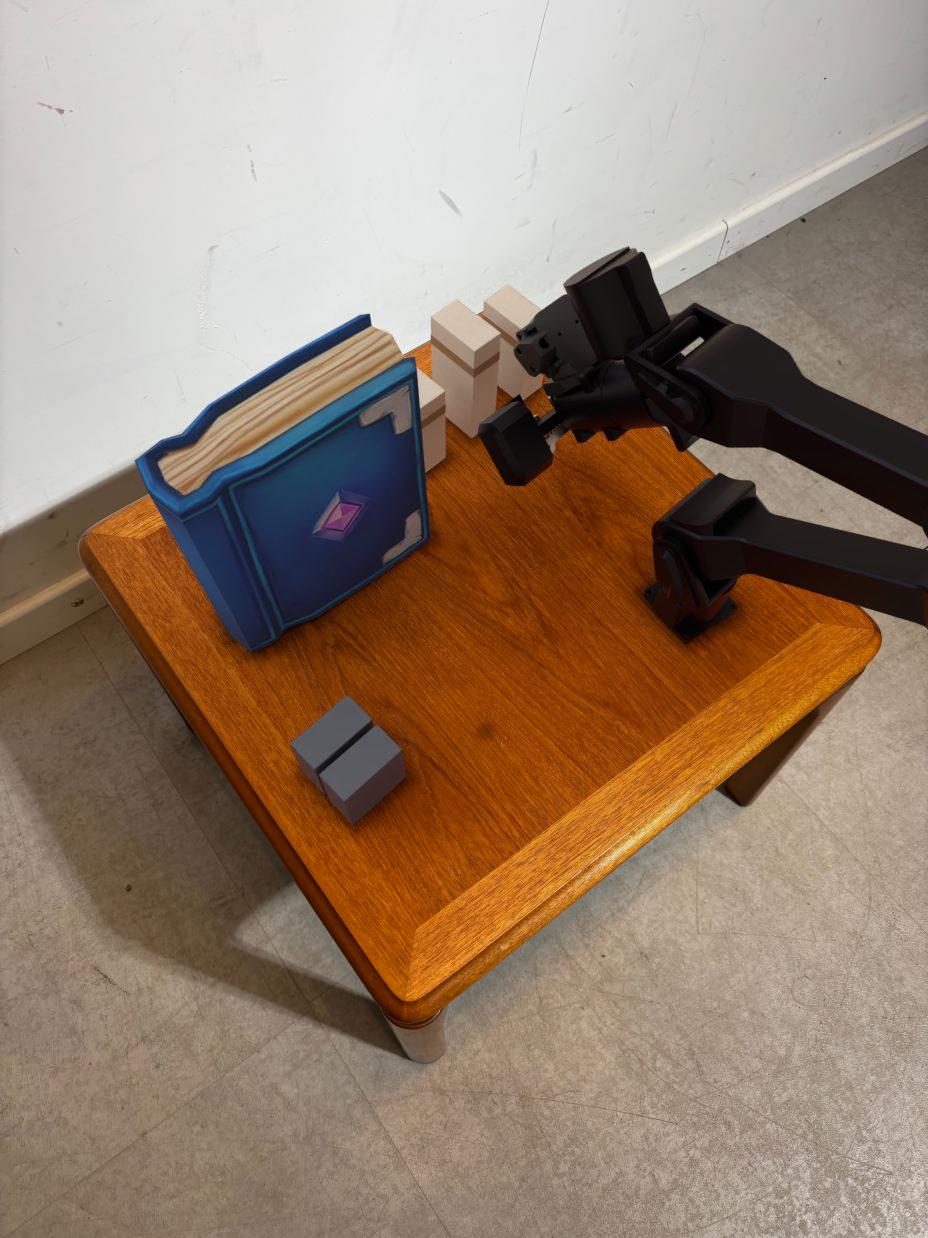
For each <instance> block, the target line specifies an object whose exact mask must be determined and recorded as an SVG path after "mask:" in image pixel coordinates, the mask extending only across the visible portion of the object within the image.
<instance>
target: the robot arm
mask: <svg viewBox="0 0 928 1238" xmlns="http://www.w3.org/2000/svg"><path fill="white" fill-rule="evenodd" d="M562 286H563V288H564V290H565V294H562V295H560V296H559V297H558V298H557V299H555V300H554V301H552V302H551V303H550V304H548V305H546V306H545V307H544V308H541V309H542V310H541V311H540V312H538V313H537V314H536V315H535V316H534V318H533V319H532V320H531V321H530V323H529V324H528V325H526V326H525V327H523V328H522V329H521V330H519V331H518V332H516V338H517V339H518V341H519V343H518V344H517V345H516V346H515V347H514V349H513V351H514V356H515V357H516V359H517V360H518V361H519V363H520V364H521V365H522V366H523V368H524V369H525V370H526V372H527V373H528V374H529V375H530V376H532V377H536V376H538V375H539V374H543V376H545V378H547V381H545V382H544V383H542V389H543V392H544V393H545V395H546V396H547V397H548V401H549V403H550V405H551V407H552V409H550V410H549V411H547V412H546V413H545V414H543V415H542V416H541V417H540V415H539V414H533V413H532V410H531V409H530V408H528V406H527V405H526V404H525V403H526V402H525V401H524V400H523V399H522V397H521V395H520V394H519V395H517V396H516V397H515V398H513V397H512V399H510V400H509V401H508V402H506V403H505V404H503V405H502V406H501V407H500V408H499V409H497V410H495V413H493V414H492V415H491V416H489V417H488V418H487V419H485V420H484V421H482V422H481V423H480V424H479V427H478V434H477V436H478V437H479V439H480V441H481V443H482V444H483V446H484V449H485V450H486V452H487V454H488V455H489V457H490V460H491V461H492V463H493V465H494V466H495V469H496V470H497V473H498V474H499V476H500V478H501V480H502V481H503V483H504V485H505V486H508V487H514V488H515V487H517V488H518V487H521V488H523V487H526V486H527V485H528V484H530V483H531V482H533V481H534V480H535V479H536V478H538V477H539V476H540V475H542V474H543V473H544V472H545V471H547V470H548V469H549V468H550V467H551V466H553V461H554V452H555V450H556V442H557V441H558V440H560V439H562V437H564V436H565V435H566V434H568V433H570V431H571V432H572V434H573V437H574V438H575V441H576V443H577V444H585V443H587V442H588V441H589V440H590V439H592V438H594V436H596V434H598V433H603V434H604V436H605V438H606V440H607V442H616V441H617V440H619V439H621V437H622V436H624V435H625V434H626V433H627V432H629V431H631V430H639V429H651V428H652V429H653V428H663V427H664V428H666V429H667V431H668V432H669V436H670V437H671V440H672V442H673V444H674V447H675V449H676V451H678V452H679V453H685V452H686V451H687V450H689V448H691V446H693V445H694V444H695V443H697V442H698V441H699V440H700V439H702V440H705V441H708V442H710V443H713V444H715V445H718V446H721V447H724V448H727V449H765V450H767V451H771V452H774V453H776V454H778V455H780V456H783V457H784V458H787V459H788V460H790V461H792V462H793V463H797V464H798V465H800V466H802V467H804V468H806V469H808V470H809V471H811V472H813V473H816V474H817V475H819V476H821V477H824V478H825V479H827V480H829V481H831V482H833V483H835V484H837V485H839V486H841V487H843V488H844V489H847V490H848V491H850V492H853V493H854V494H856V495H857V496H860V497H862V498H864V499H866V500H868V501H870V502H872V503H874V504H875V505H878V506H879V507H882V508H884V509H885V510H888V511H889V512H891V513H893V514H894V515H895V514H896V515H897V516H899V517H901V518H903V519H905V520H906V521H908V522H910V523H913V524H915V525H916V526H918V527H920V528H921V529H922V531H923V533H924V535H925V537H926V539H928V434H926V433H924V432H921V431H919V430H917V429H914V428H913V427H910V426H908V425H906V424H904V423H901V422H899V421H897V420H895V419H892V418H890V417H888V416H886V415H885V414H882V413H880V412H877V411H875V410H873V409H871V408H868V407H867V406H864V405H862V404H860V403H858V402H856V401H853V400H851V399H849V398H846V397H845V396H842V395H840V394H838V393H837V392H833V391H832V390H829V389H828V388H825V387H823V386H820V385H819V384H817V383H815V382H814V381H812V380H811V379H809V378H807V377H806V376H804V374H803V372H802V370H801V368H800V367H799V365H798V363H797V362H796V360H795V358H794V357H793V354H792V353H791V352H790V351H788V350H787V349H785V348H784V347H783V346H781V345H779V344H778V343H776V342H774V341H773V340H771V339H770V338H768V337H767V336H765V335H764V334H762V333H761V332H759V331H757V330H756V329H754V328H752V327H750V326H748V325H746V324H745V325H744V324H741V323H736V322H734V321H732V320H730V319H728V318H726V317H724V316H722V315H720V314H718V313H717V312H715V311H713V310H711V309H709V308H707V307H705V306H703V305H701V304H700V303H697V302H696V301H695V302H692V303H691V304H689V305H688V306H687V307H685V308H684V309H683V310H681V311H680V312H677V313H673V314H669V313H668V310H667V308H666V305H665V304H664V303H665V302H664V301H663V299H662V298H663V297H662V296H661V294H660V291H659V289H658V287H657V284H656V282H655V279H654V275H653V271H652V268H651V265H650V263H649V261H648V258H647V256H646V253H645V252H643V251H642V250H641V251H638V250H637V248H635V247H630V246H629V245H627V246H625V247H622V248H619V249H617V250H614V251H612V252H611V253H609V254H607V255H605V256H601V258H599V259H597V260H595V261H593V262H591V263H590V264H588V265H586V266H585V267H583V268H582V269H580V270H578V271H576V273H573V274H572V275H571V276H570V277H568V278H567V279H566V280H565V281H564V282H563V284H562ZM700 338H701V339H702V340H703V341H702V342H701V343H699V344H698V345H697V346H696V347H694V348H693V349H692V350H690V352H688V353H687V354H685V355H684V354H683V353H682V352H683V351H685V350H686V349H687V348H689V346H691V345H692V344H693V343H695V342H696V341H698V339H700ZM756 485H757V484H756V483H755V482H754V481H753V480H751V479H736V478H733V477H730V476H728V475H726V474H724V473H722V472H721V471H719V472H718V473H717V474H715V476H713V477H708V478H705V479H703V480H702V481H701V482H699V484H698V485H696V486H695V487H694V488H693V489H692V490H690V491H689V492H688V493H687V494H686V495H685V496H684V497H683V498H681V499H680V500H679V501H678V502H676V504H674V505H673V506H671V508H669V509H668V510H667V511H666V512H665V513H663V515H661V516H660V517H659V518H658V519H656V521H655V522H654V523H653V524H652V526H651V533H650V534H651V539H652V544H651V549H652V560H653V569H654V570H653V571H654V579H655V581H656V582H654V583H652V584H651V585H649V586H647V587H646V588H645V589H644V590H643V593H642V596H643V597H644V598H645V600H646V601H647V602H648V603H649V605H651V607H652V610H653V611H654V613H656V615H657V616H658V617H659V619H660V620H661V621H662V622H663V623H664V625H666V627H668V628H669V629H671V630H672V631H673V632H674V633H675V634H676V635H677V637H678V638H679V639H680V640H681V641H682V642H683V643H685V644H689V643H691V642H693V641H694V640H697V638H699V637H701V636H702V635H703V634H705V633H707V632H708V631H710V630H711V629H713V628H714V627H716V626H717V625H719V624H721V623H722V622H724V621H725V620H727V619H728V618H729V617H731V616H733V615H734V614H736V613H737V612H738V609H739V605H738V604H737V603H736V602H735V601H734V599H732V597H731V596H730V595H731V593H732V591H733V590H734V588H735V586H736V584H737V582H738V580H739V579H740V578H741V577H742V576H745V575H753V576H757V577H761V578H764V579H767V580H770V581H774V582H778V583H781V584H784V585H787V586H790V587H794V588H798V589H801V590H804V591H808V592H810V593H814V594H817V595H821V596H823V597H827V598H831V599H833V600H836V601H837V600H838V601H840V602H844V603H847V604H850V605H853V606H858V607H861V608H865V609H867V610H871V611H873V612H877V613H881V614H884V615H887V616H889V617H890V616H891V617H894V618H896V619H900V620H903V621H907V622H909V623H910V622H911V623H913V624H917V625H920V626H922V627H923V628H925V629H926V630H928V549H925V548H921V547H917V546H912V545H908V544H903V543H899V542H895V541H890V540H887V539H882V538H878V537H873V536H869V535H865V534H860V533H856V532H854V531H853V532H851V531H848V530H843V529H839V528H835V527H832V526H831V527H830V526H827V525H823V524H818V523H814V522H809V521H805V520H802V519H801V520H800V519H798V518H797V519H796V518H792V517H788V516H784V515H781V514H780V515H779V514H775V513H773V512H771V511H770V510H769V508H767V506H766V504H764V502H763V501H762V500H761V498H760V497H759V496H758V495H757V486H756ZM648 593H649V594H648ZM731 607H732V608H731ZM687 637H688V638H687Z"/></svg>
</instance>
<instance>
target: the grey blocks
mask: <svg viewBox="0 0 928 1238" xmlns="http://www.w3.org/2000/svg"><path fill="white" fill-rule="evenodd" d="M289 745H290V747H291V749H292V751H293V753H294V755H295V758H296V760H297V762H298V764H299V767H300V769H301V771H302V772H303V773H304V775H305V776H306V777H307V778H308V779H309V780H310V781H311V783H312V784H314V785H315V786H316V788H317V789H318V790H319V791H320V792H321V793H322V794H323V796H327V797H328V800H329V802H330V803H331V804H332V805H333V806H334V808H336V810H338V811H339V813H340V814H341V815H342V816H343V817H344V818H345V819H346V820H347V821H348V822H349V823H350V825H352V826H354V825H355V824H357V822H359V821H360V820H361V819H362V818H363V817H364V816H365V815H366V814H368V812H370V811H371V810H372V809H373V808H374V807H375V806H376V805H377V804H378V803H380V802H381V801H382V800H383V799H384V798H385V797H386V796H387V795H389V794H390V793H391V791H393V790H394V789H395V788H396V787H397V786H398V785H399V784H401V782H402V781H404V780H405V778H407V775H406V774H407V773H406V768H405V759H404V754H403V748H402V747H400V746H399V745H398V744H397V743H396V742H395V740H394V739H392V738H391V737H390V735H388V733H387V732H386V731H384V729H382V727H381V726H379V724H375V725H374V722H373V718H372V717H371V716H370V715H369V714H368V713H367V712H366V711H365V710H364V709H363V708H362V707H361V706H360V705H359V704H358V703H357V702H356V700H354V699H353V698H352V697H351V696H350V694H346V695H345V696H344V697H343V698H342V699H341V700H340V701H338V702H337V703H336V704H335V705H333V706H332V707H331V708H330V709H329V710H328V711H326V712H325V713H324V714H323V715H321V716H320V718H318V719H317V720H316V721H314V723H312V724H311V725H310V726H309V727H308V728H307V729H305V730H304V731H303V732H302V733H300V734H299V735H298V736H297V737H296V738H295V739H293V740H292V741H291V742H290V743H289Z"/></svg>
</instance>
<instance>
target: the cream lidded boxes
mask: <svg viewBox="0 0 928 1238" xmlns="http://www.w3.org/2000/svg"><path fill="white" fill-rule="evenodd" d="M542 309H543V308H541V307H540V306H538V305H537V304H536V303H534V302H533V301H531V300H530V299H529V298H527V297H526V296H525V295H524V294H522V293H521V292H520V291H518V290H517V289H516V288H514V287H513V286H512V285H510V284H509V283H507V284H505V285H504V286H502V287H501V288H499V289H498V290H497V291H495V292H493V293H492V294H491V295H488V296H487V297H486V298H485V299H483V307H482V319H484V320H485V321H486V322H487V323H489V324H490V325H491V326H493V327H494V328H495V329H496V330H498V331H499V332H500V333H501V337H500V359H499V366H498V381H497V387H499V388H500V389H501V390H502V391H504V392H505V393H506V394H507V395H508V396H510V397H511V398H512V399H513V398H515V397H516V396H517V395H519V394H520V395H521V397H522V399H523V401H524V400H526V399H527V398H529V397H531V395H533V394H534V393H535V392H536V391H538V390H539V389H541V388H543V379H544V374H539V375H538V376H536V377H532V376H530V375H529V374H528V373H527V372H526V370H525V369H524V368H523V366H522V365H521V364H520V363H519V361H518V360H517V359H516V357H515V356H514V351H513V349H514V347H515V346H516V345H517V344H518V343H519V341H518V339H517V338H516V332H518V331H519V330H521V329H522V328H523V327H525V326H526V325H528V324H529V323H530V321H531V320H532V319H533V318H534V316H535V315H536V314H537V313H538V312H540V311H541V310H542ZM404 358H406V356H404ZM417 376H418V388H419V400H420V413H421V425H422V437H423V449H424V462H425V474H426V473H427V472H429V471H430V470H432V469H433V468H434V467H435V466H437V465H438V464H439V463H441V462H442V461H443V460H445V459H446V458H447V456H446V455H447V454H446V453H447V449H446V446H447V445H446V444H447V443H446V439H447V437H446V417H445V412H446V404H445V390H444V389H442V388H441V387H440V386H439V385H438V384H436V383H435V382H434V381H433V380H432V378H430V377H429V375H427V374H426V373H425V372H424V371H422V370H421V369H420V368H419V367H417Z"/></svg>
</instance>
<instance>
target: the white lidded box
mask: <svg viewBox="0 0 928 1238" xmlns="http://www.w3.org/2000/svg"><path fill="white" fill-rule="evenodd" d="M500 337H501V333H500V332H499V331H498V330H496V329H495V328H494V327H493V326H491V325H490V324H489V323H487V322H486V321H485V320H484V319H483V317H481V316H480V315H478V313H476V312H474V311H473V310H472V309H471V308H470V307H468V306H467V305H465V304H464V303H463V302H462V301H461V300H459V299H458V298H455V299H454V300H452V301H451V302H450V303H448V304H447V305H445V306H444V307H442V308H441V309H439V310H438V311H436V312H434V313H433V314H432V315H430V345H431V349H430V351H431V352H430V353H431V379H432V380H433V381H434V382H435V383H436V384H438V385H439V386H440V387H441V388H442V389H444V390H445V404H446V412H445V418H447V419H448V421H450V422H451V423H452V424H454V425H455V426H456V427H457V428H459V430H461V431H462V432H463V433H464V434H466V435H467V436H468V438H470V439H473V438H474V437H476V436H478V427H479V424H480V423H481V422H482V421H484V420H485V419H487V418H488V417H489V416H491V415H492V414H493V413H495V412H496V411H497V410H496V409H497V397H498V395H497V394H498V385H497V381H498V366H499V359H500Z"/></svg>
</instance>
